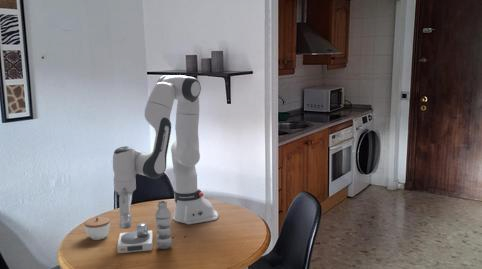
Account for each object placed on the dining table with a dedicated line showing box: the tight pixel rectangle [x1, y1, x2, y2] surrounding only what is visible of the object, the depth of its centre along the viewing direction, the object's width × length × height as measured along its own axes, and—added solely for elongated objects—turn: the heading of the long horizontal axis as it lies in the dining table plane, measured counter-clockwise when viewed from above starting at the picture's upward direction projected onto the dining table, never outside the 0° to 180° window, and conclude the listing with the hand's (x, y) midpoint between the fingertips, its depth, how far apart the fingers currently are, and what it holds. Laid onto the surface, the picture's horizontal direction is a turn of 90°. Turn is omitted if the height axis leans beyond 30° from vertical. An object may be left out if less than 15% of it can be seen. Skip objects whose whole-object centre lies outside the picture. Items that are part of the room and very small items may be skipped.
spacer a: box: [118, 213, 133, 230], centre depth 179 cm, size 5×5×5 cm
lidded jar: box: [84, 216, 111, 241], centre depth 190 cm, size 11×11×9 cm
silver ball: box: [135, 222, 149, 238], centre depth 182 cm, size 5×5×5 cm
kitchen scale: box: [116, 230, 154, 254], centre depth 182 cm, size 14×14×4 cm
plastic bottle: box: [154, 200, 173, 250], centre depth 177 cm, size 6×7×20 cm
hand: (126, 217), depth 179 cm, fingers closed on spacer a, 5 cm apart
